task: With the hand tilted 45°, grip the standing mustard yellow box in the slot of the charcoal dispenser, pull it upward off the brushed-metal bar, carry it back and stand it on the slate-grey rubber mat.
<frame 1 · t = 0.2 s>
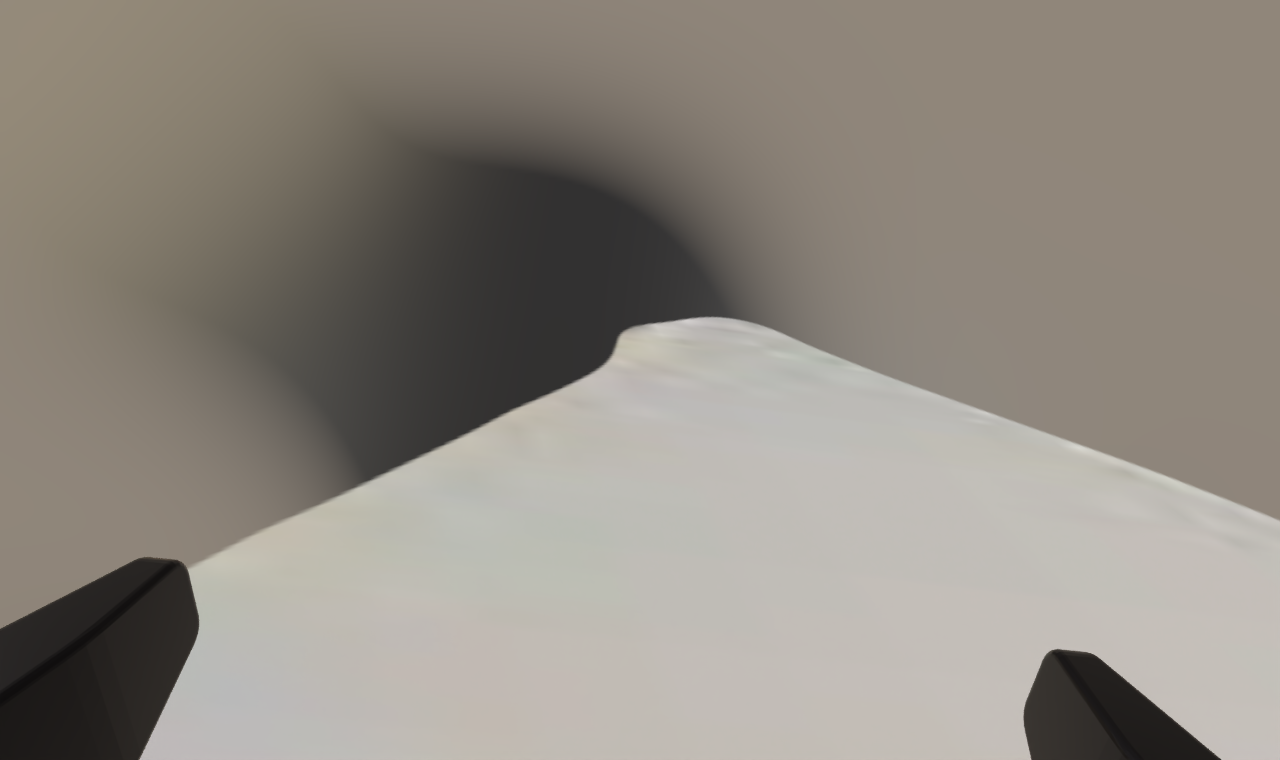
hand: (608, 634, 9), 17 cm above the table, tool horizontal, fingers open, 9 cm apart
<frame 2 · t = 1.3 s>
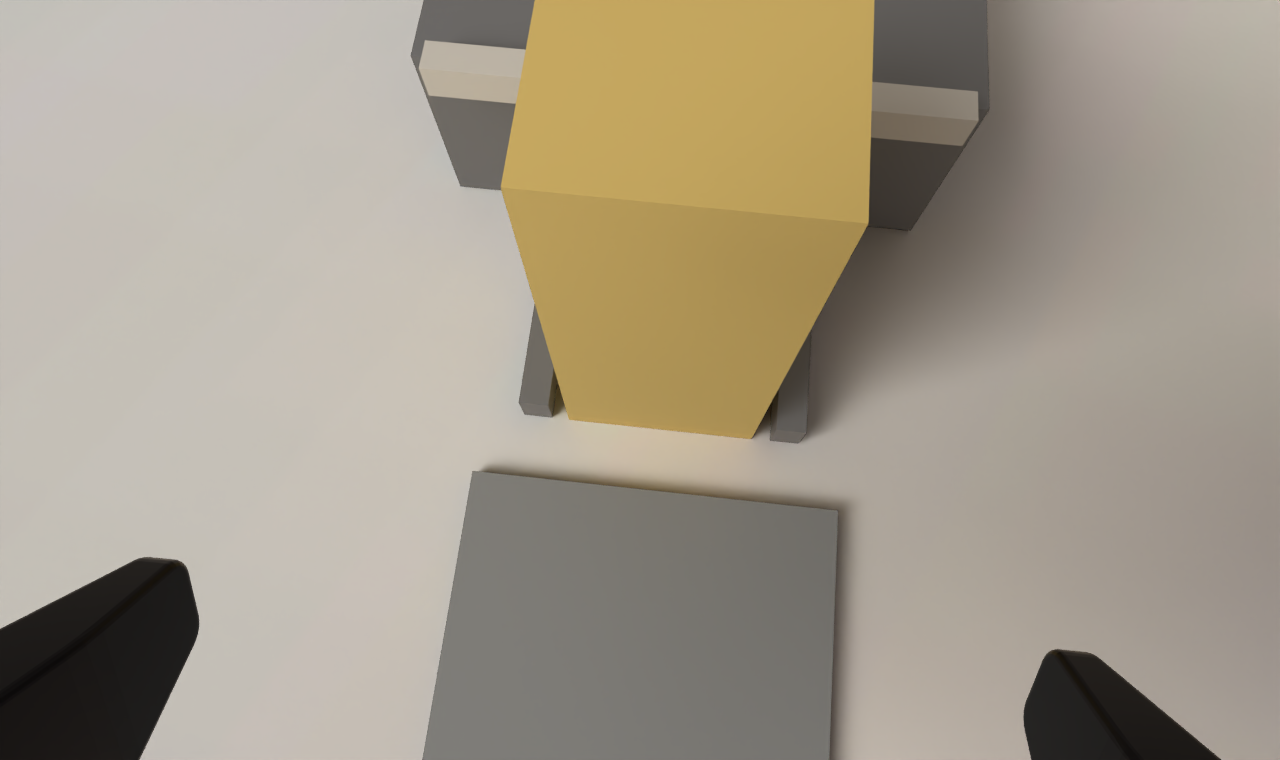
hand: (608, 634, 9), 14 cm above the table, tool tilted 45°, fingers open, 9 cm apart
mat: (633, 684, 21), on the table
dispenser: (695, 99, 27), on the table
mustard yellow box: (667, 356, 24), on the table
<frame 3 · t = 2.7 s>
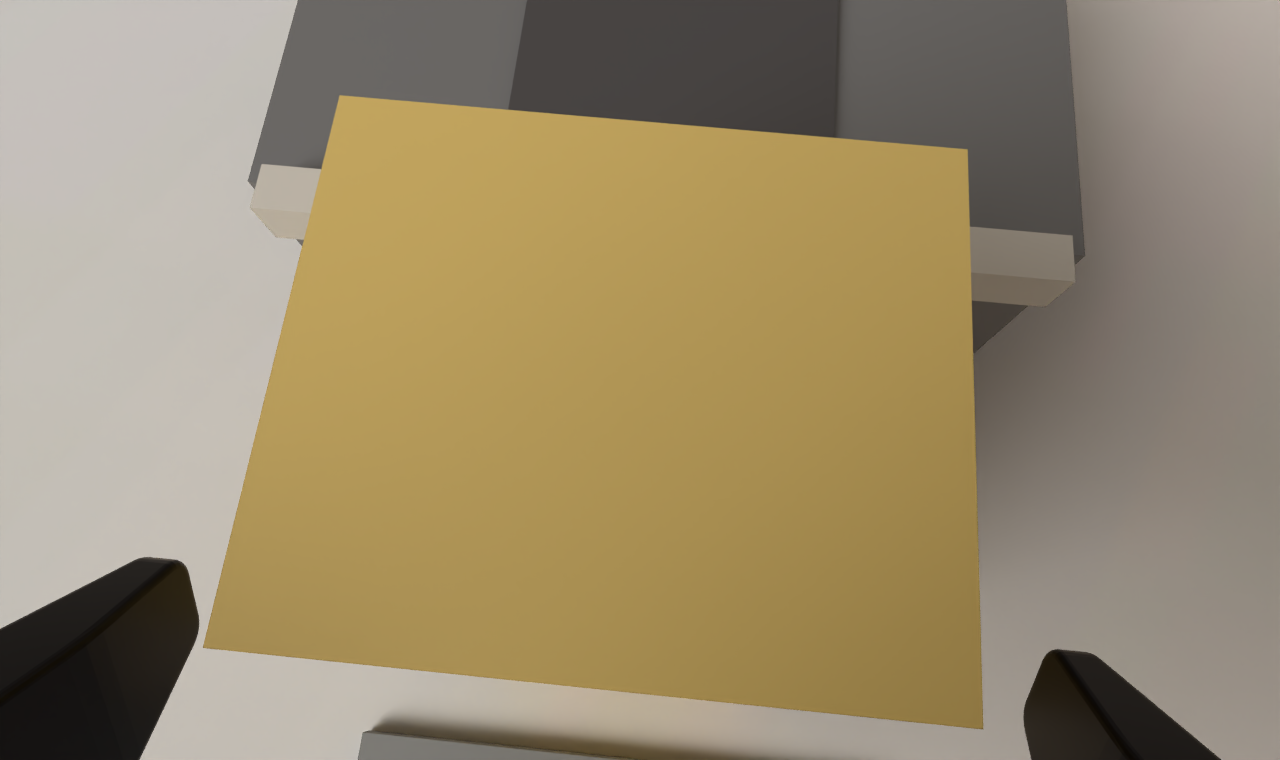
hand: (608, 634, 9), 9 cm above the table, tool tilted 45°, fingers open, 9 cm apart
dispenser: (668, 194, 21), on the table
mustard yellow box: (632, 554, 18), on the table
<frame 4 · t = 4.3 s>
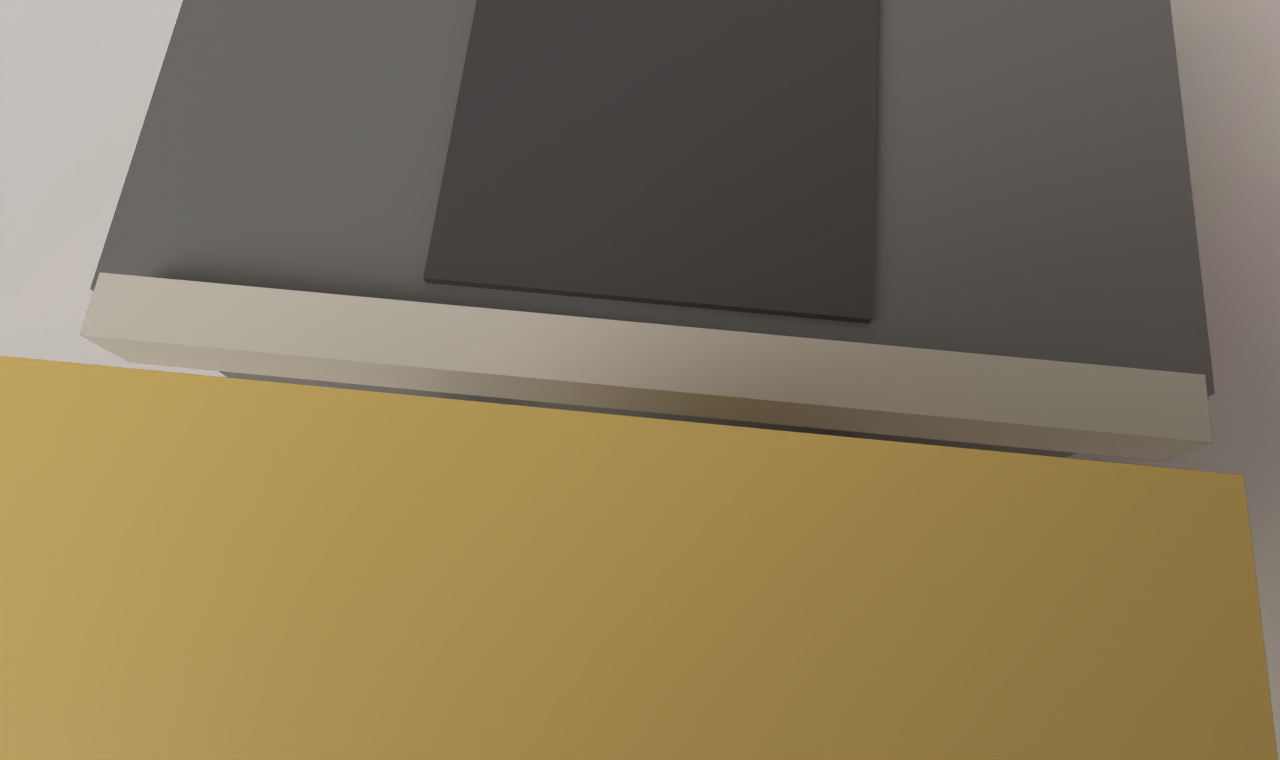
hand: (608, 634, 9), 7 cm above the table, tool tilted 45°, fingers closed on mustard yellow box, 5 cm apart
dispenser: (659, 259, 17), on the table
mustard yellow box: (612, 719, 15), on the table, touching gripper
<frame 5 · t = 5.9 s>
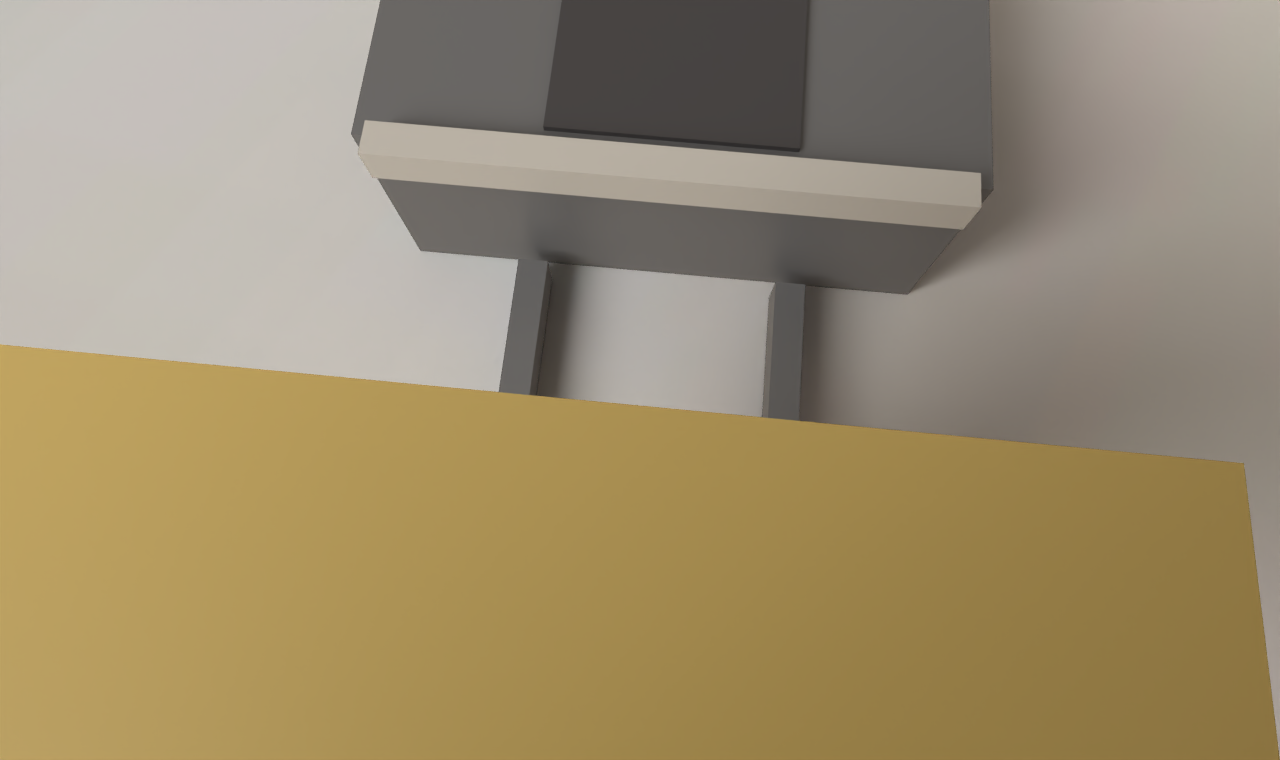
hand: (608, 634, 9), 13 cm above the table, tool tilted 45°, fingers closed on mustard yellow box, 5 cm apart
dispenser: (673, 149, 25), on the table
mustard yellow box: (612, 716, 15), point 6 cm above the table, touching gripper
when the fingers open (8 cm above the table, at t = 7.6 s): mustard yellow box drops 1 cm, resting on mat.
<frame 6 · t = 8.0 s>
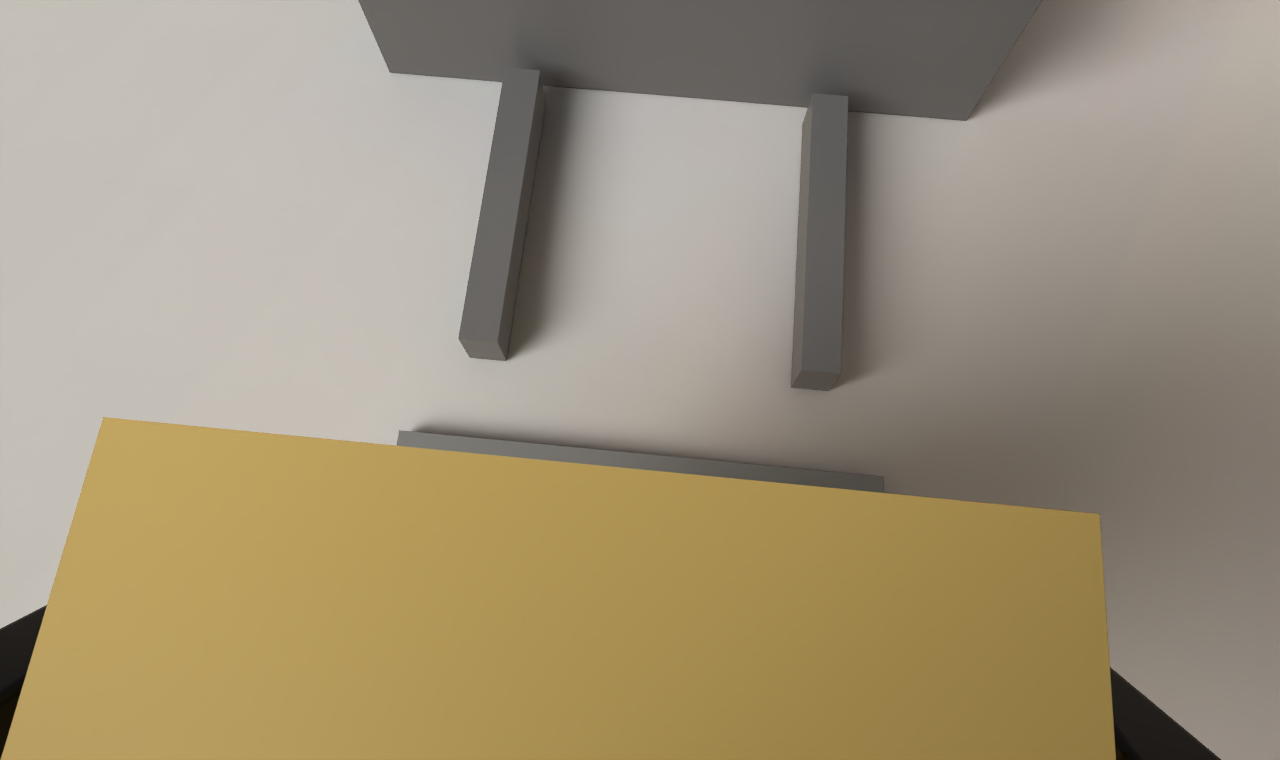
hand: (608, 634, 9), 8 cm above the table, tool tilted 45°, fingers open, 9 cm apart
mat: (614, 711, 16), on the table
mustard yellow box: (614, 713, 16), resting on mat
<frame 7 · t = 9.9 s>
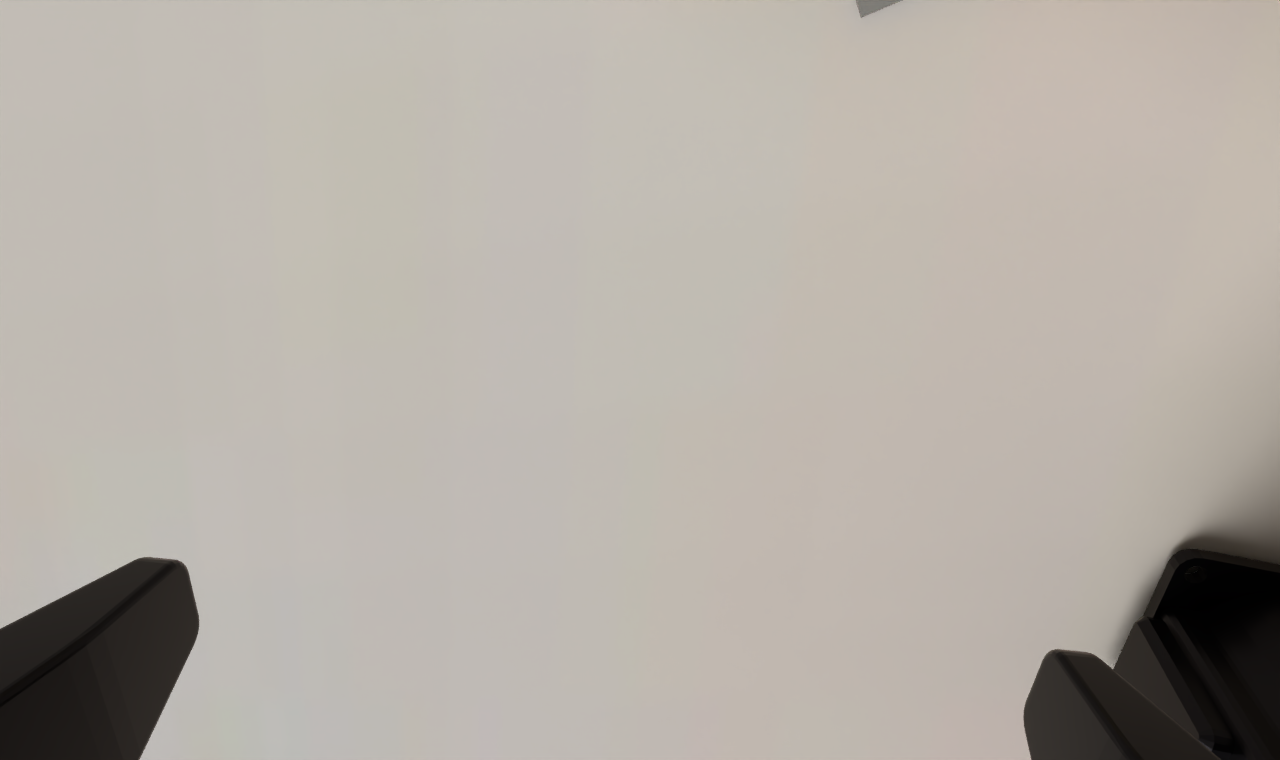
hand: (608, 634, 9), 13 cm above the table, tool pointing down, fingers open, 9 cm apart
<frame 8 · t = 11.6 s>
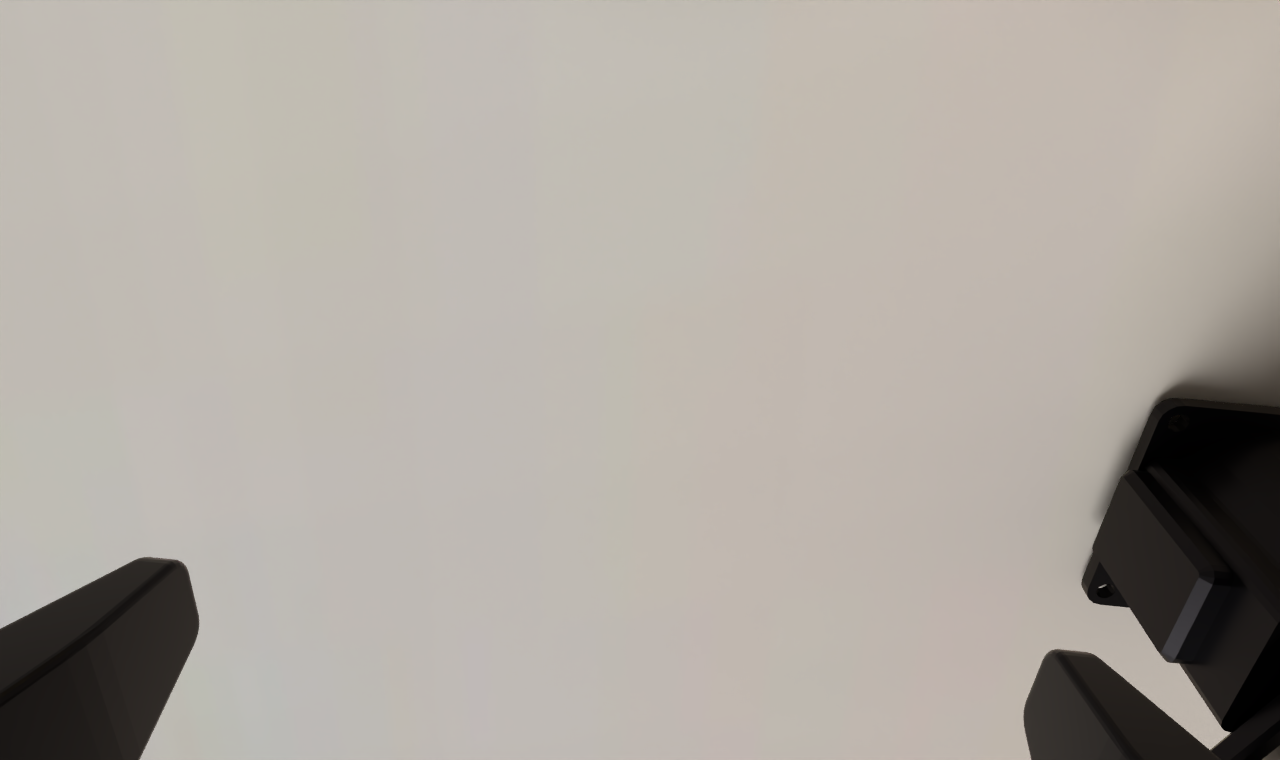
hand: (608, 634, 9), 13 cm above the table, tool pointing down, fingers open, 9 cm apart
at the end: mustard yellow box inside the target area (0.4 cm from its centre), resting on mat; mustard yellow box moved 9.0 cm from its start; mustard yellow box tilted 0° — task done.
